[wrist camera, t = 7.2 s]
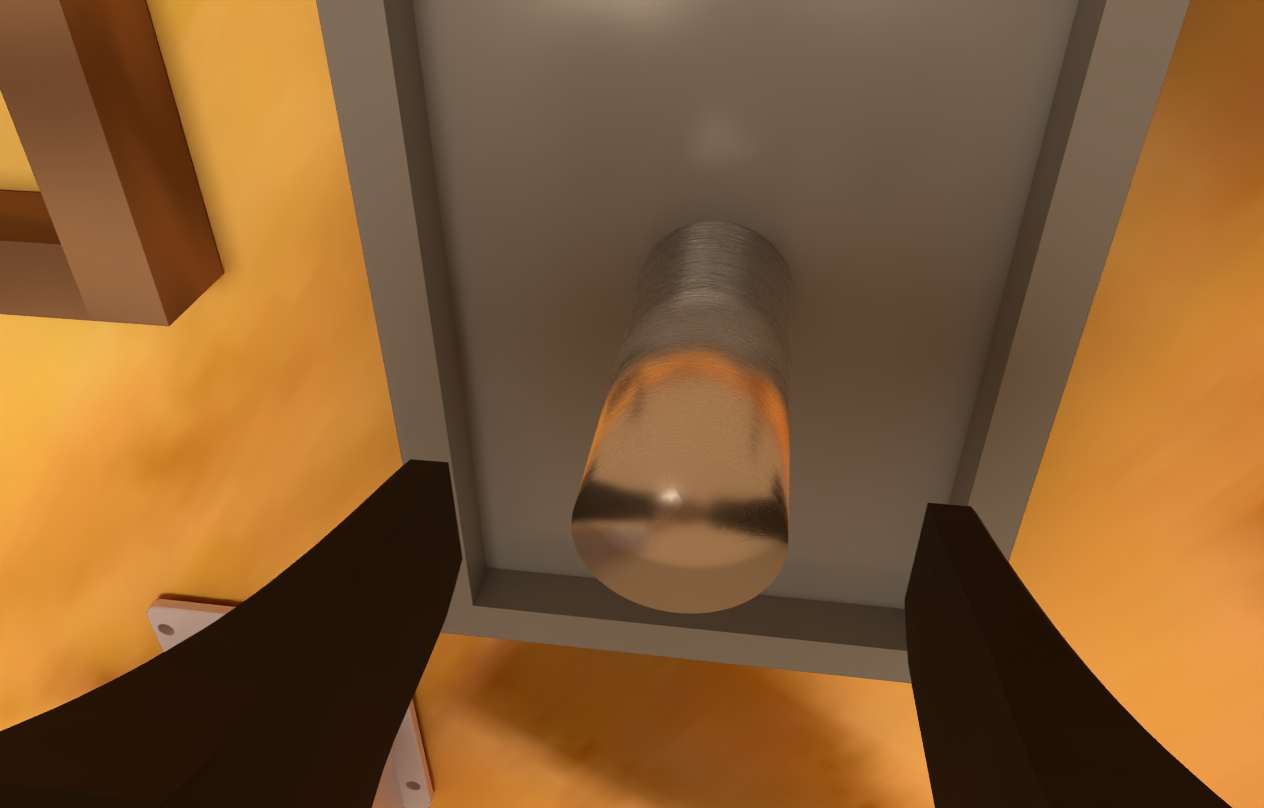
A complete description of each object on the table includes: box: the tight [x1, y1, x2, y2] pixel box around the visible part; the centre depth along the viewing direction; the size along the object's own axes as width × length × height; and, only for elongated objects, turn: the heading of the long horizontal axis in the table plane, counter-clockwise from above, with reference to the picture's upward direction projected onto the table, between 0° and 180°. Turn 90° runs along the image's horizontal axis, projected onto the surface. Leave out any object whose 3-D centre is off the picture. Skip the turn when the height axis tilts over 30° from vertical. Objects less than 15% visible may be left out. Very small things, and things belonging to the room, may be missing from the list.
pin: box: [571, 221, 792, 614], centre depth 17 cm, size 3×3×8 cm
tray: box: [316, 0, 1190, 683], centre depth 20 cm, size 20×14×2 cm
